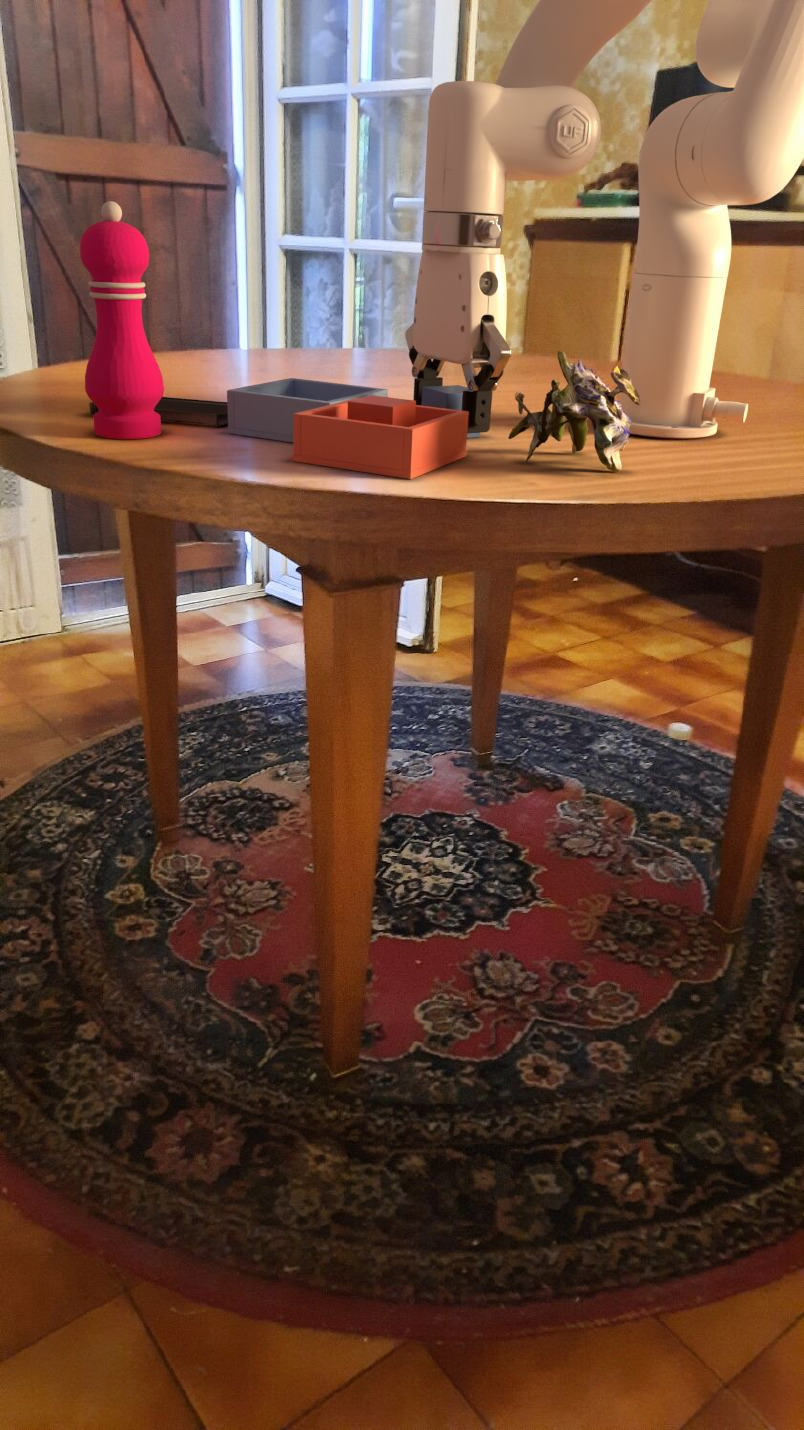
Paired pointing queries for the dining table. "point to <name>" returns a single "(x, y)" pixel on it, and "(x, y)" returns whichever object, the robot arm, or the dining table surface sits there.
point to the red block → (383, 410)
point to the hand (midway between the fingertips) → (450, 423)
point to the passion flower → (582, 412)
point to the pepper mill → (120, 331)
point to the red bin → (380, 441)
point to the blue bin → (284, 404)
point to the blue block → (445, 399)
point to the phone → (188, 411)
